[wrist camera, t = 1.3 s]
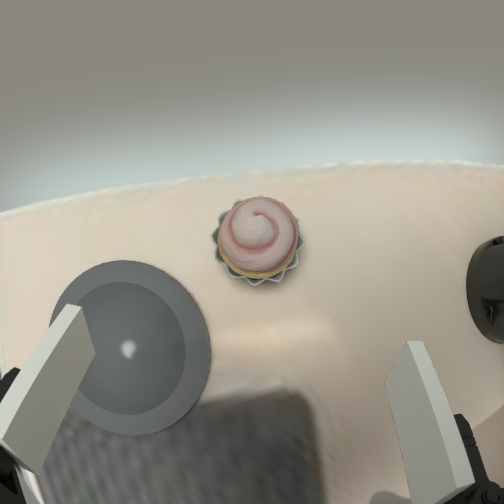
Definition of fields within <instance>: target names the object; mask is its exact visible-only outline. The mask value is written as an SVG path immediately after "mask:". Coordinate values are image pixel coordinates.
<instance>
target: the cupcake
mask: <svg viewBox="0 0 504 504" xmlns="http://www.w3.org/2000/svg"><path fill="white" fill-rule="evenodd" d="M218 222H219V226H218V227H217V228H216V229H215V230H214V231H213V232H212V233H211V235H210V236H211V239H212V241H213V242H214V243H215V245H216V246H217V247H216V250H215V253H214V255H215V259H216V260H217V261H218V262H219V263H221V264H224V265H226V269H227V273H228V274H229V275H230V276H231V277H233V278H245V279H246V280H247V281H248V282H249V283H250V284H252V285H254V286H256V285H259V284H260V283H262V282H263V281H264V280H266V279H267V280H271V281H275V282H280V281H281V280H282V278H283V276H284V273H285V271H286V270H287V269H291V268H294V267H295V266H297V265H298V261H299V258H298V251H299V250H300V249H301V248H302V247H303V246H304V245H305V243H306V242H305V240H304V238H303V237H302V236H301V235H300V233H299V226H300V219H298V218H297V217H295V216H293V214H292V212H291V211H290V210H289V209H288V208H287V207H286V205H285V204H284V203H283V202H279V201H277V200H275V199H272V198H269V197H263V196H261V195H260V196H257V197H254V198H250V199H246V200H243V199H237V200H236V201H235V203H234V205H233V207H232V209H231V210H228V211H223V212H222V213H220V214H219V217H218Z"/></svg>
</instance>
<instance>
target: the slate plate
mask: <svg viewBox="0 0 504 504" xmlns="http://www.w3.org/2000/svg"><path fill="white" fill-rule="evenodd" d="M66 304H71V305H76V306H80V307H82V309H83V313H84V317H85V320H86V324H87V327H88V331H89V334H90V337H91V340H92V344H93V347H94V350H95V353H96V354H95V356H94V358H93V360H92V361H91V363H90V365H89V367H88V369H87V371H86V373H85V375H84V377H83V379H82V381H81V383H80V385H79V387H78V389H77V391H76V393H75V395H74V397H73V399H72V401H71V403H70V405H71V406H72V407H73V408H74V409H75V410H76V411H77V412H78V413H79V414H80V415H81V416H82V417H84V418H85V419H86V420H88V421H89V422H91V423H92V424H94V425H96V426H98V427H100V428H102V429H104V430H107V431H110V432H113V433H117V434H122V435H132V436H137V435H147V434H151V433H155V432H158V431H160V430H163V429H165V428H167V427H169V426H171V425H172V424H174V423H176V422H177V421H178V420H179V419H181V418H182V417H183V416H184V415H185V414H186V413H187V412H188V411H189V410H190V409H191V407H192V406H193V405H194V404H195V402H196V401H197V399H198V398H199V396H200V394H201V392H202V390H203V388H204V386H205V383H206V379H207V376H208V372H209V366H210V341H209V335H208V331H207V327H206V324H205V321H204V318H203V316H202V314H201V312H200V310H199V308H198V306H197V304H196V303H195V301H194V300H193V298H192V297H191V296H190V294H189V293H188V292H187V291H186V290H185V289H184V288H183V287H182V286H181V285H180V284H179V283H178V282H177V281H176V280H175V279H173V278H172V277H171V276H169V275H168V274H166V273H165V272H163V271H162V270H160V269H158V268H156V267H154V266H151V265H148V264H145V263H142V262H136V261H127V260H120V261H111V262H107V263H102V264H100V265H97V266H95V267H92V268H90V269H89V270H87V271H85V272H83V273H82V274H81V275H80V276H78V277H77V278H76V279H75V280H74V281H73V282H72V283H71V284H70V285H69V286H68V287H67V288H66V290H65V291H64V292H63V293H62V295H61V297H60V298H59V300H58V302H57V304H56V306H55V309H54V311H53V314H52V317H51V321H50V325H49V328H50V326H51V325H52V323H53V322H54V321H55V319H56V318H57V316H58V315H59V314H60V312H61V311H62V310H63V308H64V307H65V306H66Z"/></svg>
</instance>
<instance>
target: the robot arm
mask: <svg viewBox="0 0 504 504" xmlns="http://www.w3.org/2000/svg"><path fill="white" fill-rule="evenodd" d="M467 296H468V303H469V307H470V311H471V314H472V317H473V319H474V321H475V323H476V325H477V327H478V328H479V330H480V331H481V332H482V334H483V335H484V336H485V337H487V338H488V339H489V340H491V341H493V342H496V343H504V236H498V237H495V238H493V239H491V240H489V241H487V242H485V243H483V244H482V245H481V246H480V247H479V248H478V249H477V250H476V251H475V253H474V255H473V257H472V259H471V262H470V265H469V269H468V274H467ZM95 354H96V353H95V350H94V347H93V344H92V340H91V337H90V334H89V331H88V327H87V324H86V320H85V317H84V313H83V309H82V307H80V306H76V305H71V304H66V306H65V307H64V308H63V310H62V311H61V312H60V314H59V315H58V316H57V318H56V319H55V321H54V322H53V323H52V325H51V326H50V328H49V329H48V330H47V332H46V333H45V335H44V336H43V337H42V339H41V340H40V342H39V343H38V345H37V346H36V348H35V349H34V351H33V352H32V354H31V355H30V357H29V358H28V360H27V361H26V363H25V364H24V366H23V367H22V369H21V370H20V369H18V368H15V367H14V368H13V369H12V370H10V371H9V372H8V373H7V374H5V375H4V377H3V378H2V380H1V382H0V504H26V501H25V498H24V495H23V492H22V489H21V486H20V482H19V479H18V476H17V472H16V470H15V467H14V463H15V461H16V462H17V463H18V464H19V465H20V466H21V467H22V468H24V469H26V470H28V471H30V472H32V473H34V474H36V475H38V476H39V473H40V471H41V468H42V466H43V463H44V461H45V459H46V456H47V454H48V452H49V449H50V447H51V445H52V442H53V440H54V438H55V436H56V433H57V431H58V429H59V427H60V425H61V422H62V420H63V418H64V416H65V414H66V412H67V410H68V407H69V405H70V403H71V401H72V399H73V397H74V395H75V393H76V391H77V389H78V387H79V385H80V383H81V381H82V379H83V377H84V375H85V373H86V371H87V369H88V367H89V365H90V363H91V361H92V360H93V358H94V356H95ZM384 386H385V389H386V393H387V397H388V400H389V404H390V408H391V412H392V416H393V420H394V424H395V428H396V432H397V436H398V440H399V444H400V449H401V453H402V458H403V462H404V467H405V471H406V476H407V481H408V486H409V492H410V497H411V501H412V504H504V488H500V486H499V485H498V484H496V483H495V482H491V481H489V479H488V477H487V475H486V471H485V468H484V465H483V462H482V459H481V456H480V453H479V450H478V447H477V446H476V441H475V438H474V437H473V433H472V430H471V427H470V425H469V423H468V422H467V420H466V419H465V418H464V417H463V415H462V414H456V415H453V413H452V411H451V408H450V405H449V403H448V400H447V398H446V395H445V393H444V390H443V388H442V385H441V383H440V380H439V378H438V375H437V373H436V371H435V368H434V366H433V364H432V361H431V359H430V357H429V354H428V352H427V350H426V348H425V346H424V343H423V341H407V342H406V344H405V346H404V348H403V350H402V352H401V354H400V356H399V357H398V359H397V361H396V363H395V365H394V367H393V369H392V370H391V372H390V374H389V376H388V378H387V379H386V381H385V383H384Z"/></svg>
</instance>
